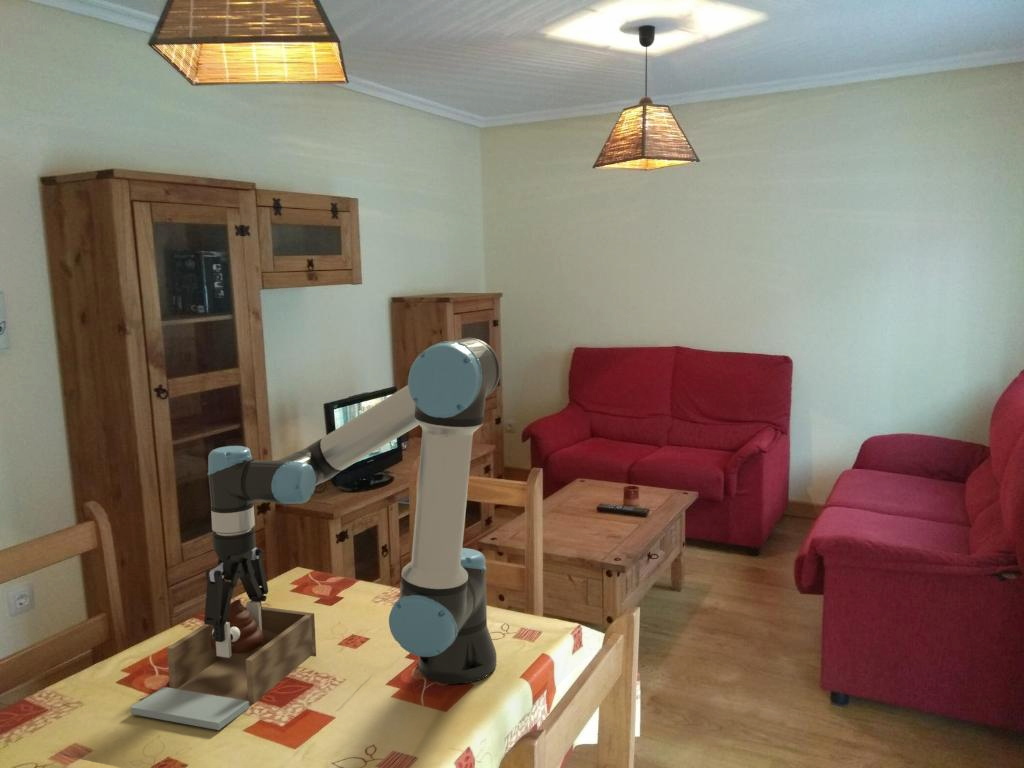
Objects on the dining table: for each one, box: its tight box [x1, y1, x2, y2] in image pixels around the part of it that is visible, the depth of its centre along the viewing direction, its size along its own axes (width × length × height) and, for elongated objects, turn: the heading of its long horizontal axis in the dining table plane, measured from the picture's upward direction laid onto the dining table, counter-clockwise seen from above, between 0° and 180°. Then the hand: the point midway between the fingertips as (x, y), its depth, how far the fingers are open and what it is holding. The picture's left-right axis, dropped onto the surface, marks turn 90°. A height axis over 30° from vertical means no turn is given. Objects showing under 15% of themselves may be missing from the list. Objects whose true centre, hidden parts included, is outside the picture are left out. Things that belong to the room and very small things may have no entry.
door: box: [130, 686, 250, 731], centre depth 136 cm, size 1×18×8 cm
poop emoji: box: [210, 598, 264, 654], centre depth 149 cm, size 10×8×9 cm
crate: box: [166, 603, 317, 704], centre depth 150 cm, size 20×18×9 cm
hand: (240, 644), depth 149 cm, fingers closed on poop emoji, 9 cm apart
